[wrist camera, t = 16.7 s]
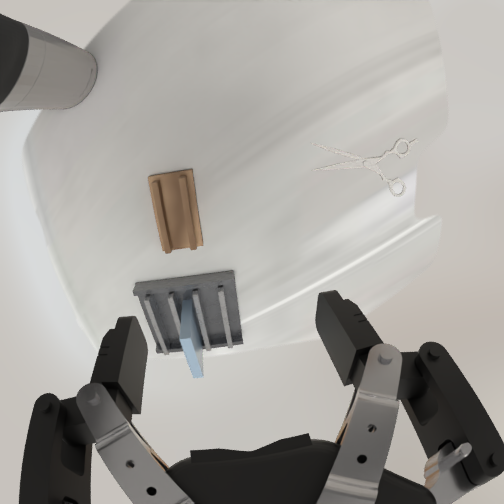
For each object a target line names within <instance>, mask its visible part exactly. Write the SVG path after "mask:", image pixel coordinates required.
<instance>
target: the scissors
mask: <svg viewBox="0 0 504 504" xmlns="http://www.w3.org/2000/svg"><path fill="white" fill-rule="evenodd" d="M400 142H405V143H406V144H407V151H406V152H405V153H403V154H400V153H399V152H398V151H397V147H398V144H399V143H400ZM417 142H418V139H414V140H413V141H411V142H409V141H407V140H406V139H399V140H397V141H396V143H395V144H394V147H393V148H392V149H391V150H390V151H385V153H384V154H383V155H382V156H381V157H374V158H365V159H364V158H362V157H359V156H356V155H353V154H351V153H348V152H344V151H341V150H337V149H333V148H329V147H326V146H322V145H317V144H314V145H316V146H318V147H321V148H323V149H326V150H328V151H331V152H334V153H337V154H341V155H343V156H346V157H350V158H354V159H358V160H354V161H349V162H344V163H340V164H335V165H331V166H327V167H323V168H319V169H315V170H330V169H348V168H362V167H365V168H367V169H370V170H373V171H375V172H376V173H379V174H380V175H381V177H382V180H385V181H388V184H389V188H390V191H391V193H392V194H393V195H394V196H397V197H400V196H402V195H403V194H404V193H405V190H406V186H405V183H404V182H403V181H402V180H401V179H399V178H396V179H394V180H392V181H391V180H389V179H387V178H386V177H385V176H384V175H383V174H382V172H381V170H380V168H379V167H378V166H377V165H376V164H377V163H378V162H380V161H381V160H382V159H383V158H384V157H385V156H387V155H388V154H391V153H394V154H397V155H398V156H399V158H403V157H405V156H406V155H408V153H409V152H410V146H411V145H413V144H414V143H417ZM311 144H312V143H311ZM311 171H313V170H311ZM396 182H399V183H401V184H402V185H403V190H402V192H401V193H400V194H395V193H394V191H393V189H392V188H393V184H394V183H396Z"/></svg>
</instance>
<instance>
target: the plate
mask: <svg viewBox="0 0 504 504" xmlns="http://www.w3.org/2000/svg"><path fill="white" fill-rule="evenodd" d="M179 339H180V342H181V345H182V348H183V351H184V354H185V357H186V359H187V362H188V365H189V367H190V370H191V373H192V375H193V378H200V377H203V347H202V336H201V332H200V328H199V324H198V320H197V316H196V312H195V308H194V304H193V300H192V299H190V300H183V302H182V313H181V325H180V338H179Z"/></svg>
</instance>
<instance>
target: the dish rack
mask: <svg viewBox="0 0 504 504" xmlns="http://www.w3.org/2000/svg"><path fill="white" fill-rule="evenodd" d="M133 294H134V296H138V297H139V300H140V303H141V306H142V309H143V311H144V314H145V317H146V319H147V322H148V325H149V327H150V330H151V332H152V335H153V337H154V340H155V342H156V344H157V346H156V352H157V353H164V355H169V352H180V351H183V348H182V345H181V342H180V339H179V338H180V325H181V313H182V302H183V300H190V299H192V300H193V304H194V308H195V312H196V316H197V320H198V324H199V328H200V332H201V336H202V347H203V349H206V351H211V348H217V347H225V346H228V348H233V345H239V344H243V339H242V333H241V325H240V318H239V310H238V303H237V295H236V288H235V278H234V272H233V270H232V271H225V272H218V273H210V274H203V275H195V276H187V277H180V278H172V279H164V280H156V281H148V282H140V283H136V284H135V287H134V290H133Z"/></svg>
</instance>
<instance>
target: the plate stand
mask: <svg viewBox="0 0 504 504" xmlns="http://www.w3.org/2000/svg"><path fill="white" fill-rule="evenodd" d="M148 181H149V186H150V192H151V197H152V203H153V208H154V213H155V218H156V223H157V227H158V232H159V237H160V241H161V245H162V250H163V251H165V253H166V254H167V253H171V251H172V250H175V249H182V248H190V249H191V250H196V249H197V246H203V240H202V234H201V227H200V221H199V214H198V208H197V201H196V194H195V186H194V179H193V171H192V169H190V170H183V171H177V172H171V173H165V174H159V175H153V176H149V177H148Z"/></svg>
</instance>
